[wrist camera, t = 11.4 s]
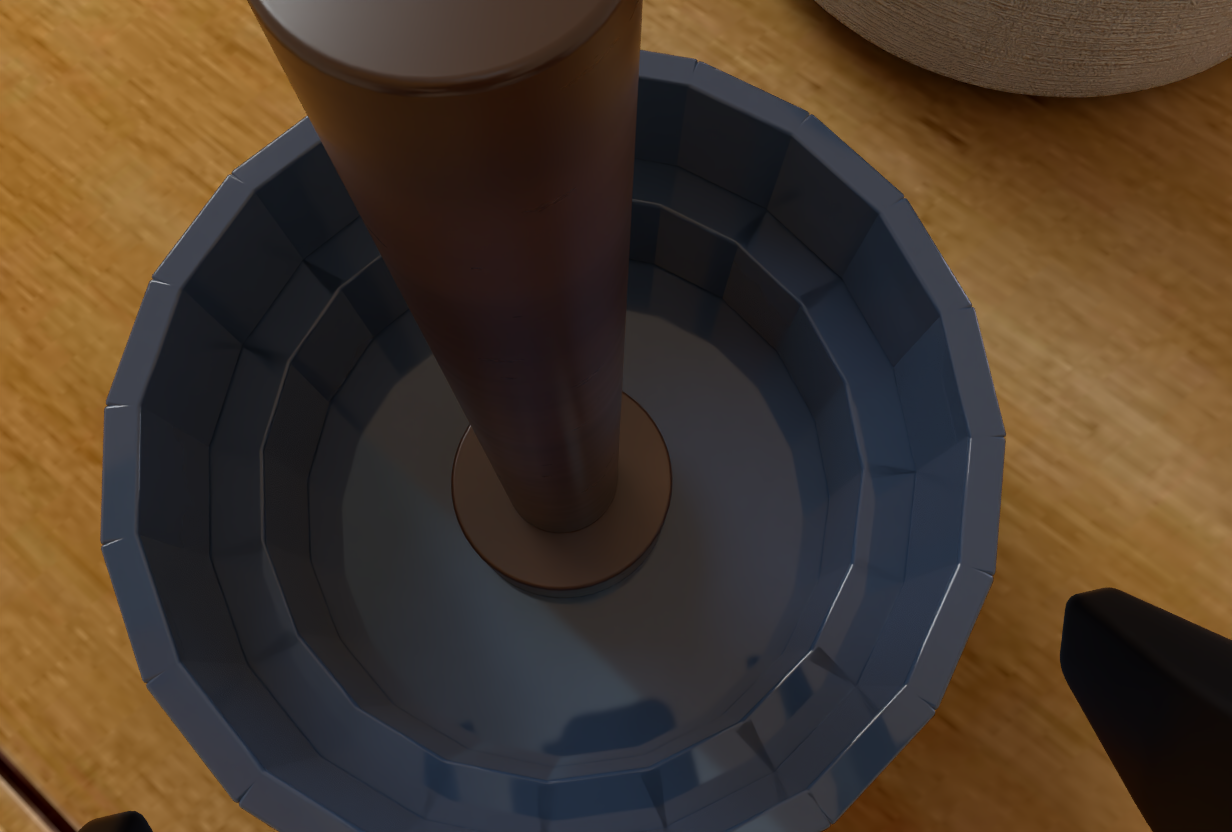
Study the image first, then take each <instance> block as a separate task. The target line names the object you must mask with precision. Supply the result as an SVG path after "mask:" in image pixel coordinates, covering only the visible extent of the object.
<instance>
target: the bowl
mask: <svg viewBox="0 0 1232 832" xmlns="http://www.w3.org/2000/svg"><path fill="white" fill-rule="evenodd" d="M152 279H153V280H150V282H149V284H148V287H147V289H146V292H145V295H144V298H143V300H142V303H141V306H140V309H139V311H138V314H137V317H136V320H135V322H134V325H133V328H132V331H131V333H130V336H129V339H128V342H127V344H126V347H125V350H124V353H123V355H122V358H121V361H120V364H119V367H118V369H117V372H116V375H115V378H114V380H113V383H112V386H111V389H110V391H109V394H108V397H107V400H106V405H107V407H105V409H104V437H103V471H102V504H101V538H100V541H101V544H102V545H103V546H101V550H102V553H103V556H104V559H105V563H106V566H107V569H108V572H109V575H110V578H111V582H112V585H113V588H114V591H115V594H116V597H117V601H118V604H119V607H120V610H121V613H122V616H123V620H124V623H125V626H126V629H127V632H128V635H129V639H130V642H131V645H132V648H133V651H134V654H135V658H136V661H137V664H138V667H139V670H140V673H141V677H142V680H143V681H144V683H147V684H146V686H147V689H148V690H149V691H150V693H151V694H152V695H153V697H154V698H155V699H156V701H157V702H158V703H159V705H160V706H161V707H162V708H163V710H164V711H165V712H166V714H167V715H168V716H169V718H170V719H171V720H172V721H173V723H174V724H175V725H176V727H177V728H178V729H179V731H180V732H181V733H182V734H183V736H184V737H185V738H186V740H187V741H188V742H189V744H190V745H191V746H192V748H193V749H194V750H195V751H196V753H197V754H198V755H199V757H200V758H201V759H202V761H203V762H204V763H205V764H206V766H207V767H208V768H209V770H210V771H211V772H212V774H213V775H214V776H215V778H216V779H217V780H218V781H219V783H220V784H221V785H222V787H223V788H224V789H225V791H226V792H227V793H228V794H229V796H230V797H231V798H232V800H233V801H234V802H236V803H239V806H240V807H241V808H242V809H243V810H245V811H247V812H248V813H250V814H251V815H253V816H254V817H256V818H258V819H259V820H261V821H262V822H264V823H266V824H267V825H269V826H270V827H272V828H273V829H275V830H277V831H278V832H822V831H824V830H826V829H828V828H829V827H830V824H834V823H835V822H836V821H837V820H838V819H839V818H840V817H841V816H842V815H843V814H844V813H845V812H846V810H847V809H848V808H849V807H850V806H851V805H852V804H853V803H854V802H855V801H856V800H857V799H858V797H859V796H860V795H861V794H862V793H863V792H864V791H865V790H866V789H867V788H868V787H869V786H870V784H871V783H872V782H873V781H874V780H875V779H876V778H877V777H878V776H879V775H880V774H881V773H882V771H883V770H884V769H885V768H886V767H887V766H888V765H889V764H890V763H891V762H892V761H893V760H894V758H895V757H896V756H897V755H898V754H899V753H900V752H901V751H902V750H903V749H904V748H905V747H906V745H907V744H908V743H909V742H910V741H911V740H912V739H913V738H914V737H915V736H916V735H917V733H918V732H919V731H920V730H921V729H922V728H923V727H924V726H925V725H926V724H927V723H928V722H929V720H930V719H931V718H932V717H933V716H934V715H935V710H937V709H938V708H939V705H940V703H941V701H942V699H943V696H944V694H945V692H946V689H947V687H948V685H949V682H950V680H951V678H952V675H953V673H954V671H955V668H956V666H957V664H958V662H959V659H960V657H961V655H962V652H963V650H964V648H965V645H966V643H967V641H968V638H969V636H970V634H971V631H972V629H973V627H974V625H975V622H976V620H977V618H978V615H979V613H980V611H981V608H982V606H983V604H984V601H985V599H986V597H987V594H988V592H989V590H990V588H991V585H992V583H993V577H992V576H993V575H994V574H995V571H996V558H997V545H998V532H999V519H1000V506H1001V493H1002V480H1003V467H1004V454H1005V438H1003V437H1005V436H1006V433H1005V429H1004V425H1003V421H1002V417H1001V413H1000V409H999V405H998V401H997V397H996V393H995V389H994V385H993V380H992V376H991V372H990V368H989V364H988V360H987V356H986V352H985V348H984V344H983V340H982V336H981V332H980V328H979V324H978V320H977V316H976V312H975V309H974V307H972V304H971V302H970V300H969V299H968V297H967V295H966V294H965V292H964V291H963V289H962V287H961V286H960V284H959V282H958V281H957V279H956V278H955V276H954V274H953V273H952V271H951V269H950V268H949V266H948V265H947V263H946V261H945V260H944V258H943V256H942V255H941V253H940V252H939V250H938V248H937V247H936V245H935V244H934V242H933V240H932V239H931V237H930V235H929V234H928V232H927V231H926V229H925V227H924V226H923V224H922V222H921V221H920V219H919V218H918V216H917V214H916V213H915V211H914V210H913V208H912V206H911V205H910V203H909V201H908V200H907V199H906V198H904V195H903V194H902V193H901V192H900V191H899V190H898V189H897V188H896V187H894V186H893V185H892V184H891V183H890V182H889V181H888V180H887V179H885V178H884V177H883V176H882V175H881V174H880V173H879V172H877V171H876V170H875V169H874V168H873V167H872V166H871V165H870V164H868V163H867V162H866V161H865V160H864V159H863V158H862V157H860V156H859V155H858V154H857V153H856V152H855V151H854V150H853V149H851V148H850V147H849V146H848V145H847V144H846V143H845V142H843V141H842V140H841V139H840V138H839V137H838V136H837V135H835V134H834V133H833V132H832V131H831V130H830V129H829V128H828V127H826V126H825V125H824V124H823V123H822V122H821V121H820V120H818V119H817V118H816V117H815V116H814V115H812V114H811V115H809V113H808V112H807V111H805V110H803V109H801V108H799V107H797V106H795V105H793V104H791V103H788V102H786V101H784V100H782V99H780V98H778V97H776V96H774V95H771V94H769V93H767V92H765V91H763V90H761V89H759V88H757V87H755V86H752V85H750V84H748V83H746V82H744V81H742V80H740V79H738V78H735V77H733V76H731V75H729V74H727V73H725V72H723V71H721V70H719V69H716V68H714V67H712V66H710V65H708V64H706V63H704V62H701V61H699V62H697V60H696V59H692V58H686V57H680V56H674V55H669V54H663V53H657V52H651V51H645V50H640V60H639V79H638V98H637V117H636V136H635V155H634V173H633V192H632V211H631V230H630V249H629V268H628V287H627V306H626V325H625V344H624V362H623V381H622V391H623V392H625V393H626V394H628V395H629V396H630V397H632V398H633V399H634V400H635V401H636V402H638V403H639V404H640V405H641V406H642V407H643V408H644V409H645V411H646V412H647V413H648V414H649V415H650V417H651V418H652V419H653V421H654V422H655V423H656V425H657V427H658V429H659V430H660V432H661V434H662V436H663V438H664V441H665V443H666V446H667V449H668V452H669V456H670V460H671V467H672V476H673V480H672V495H671V501H670V507H669V510H668V513H667V516H666V520H665V522H664V525H663V528H662V531H661V533H660V535H659V537H658V539H657V542H656V544H655V545H654V547H653V548H652V550H651V552H650V553H649V555H648V556H647V557H646V558H645V560H644V561H643V562H642V563H641V564H640V565H639V566H638V567H637V568H636V569H635V570H634V571H633V572H632V573H631V574H630V575H628V576H627V577H625V578H624V579H623V580H621V581H620V582H618V583H616V584H614V585H612V586H611V587H609V588H607V589H604V590H602V591H599V592H596V593H593V594H589V595H584V596H580V597H569V598H559V597H548V596H543V595H538V594H534V593H531V592H528V591H525V590H523V589H521V588H519V587H517V586H515V585H513V584H511V583H510V582H508V581H507V580H505V579H504V578H502V577H501V576H500V575H498V574H497V573H496V572H495V571H494V570H493V569H492V568H490V567H489V566H488V565H487V564H486V563H485V562H484V561H483V560H482V559H481V557H480V556H479V555H478V554H477V553H476V552H475V550H474V549H473V548H472V547H471V545H470V544H469V542H468V541H467V539H466V537H465V536H464V534H463V532H462V530H461V528H460V525H459V523H458V520H457V517H456V514H455V511H454V507H453V501H452V495H451V476H452V466H453V462H454V458H455V453H456V451H457V448H458V445H459V443H460V440H461V438H462V436H463V434H464V432H465V431H466V429H467V427H468V425H469V424H470V423H469V421H468V419H467V418H466V416H465V414H464V412H463V410H462V408H461V406H460V404H459V402H458V400H457V399H456V397H455V395H454V393H453V391H452V389H451V387H450V385H449V383H448V381H447V379H446V378H445V376H444V374H443V372H442V370H441V368H440V366H439V364H438V362H437V360H436V359H435V357H434V355H433V353H432V351H431V349H430V347H429V345H428V343H427V341H426V340H425V338H424V336H423V334H422V332H421V330H420V328H419V326H418V324H417V322H416V321H415V319H414V317H413V315H412V313H411V311H410V309H409V307H408V305H407V303H406V302H405V300H404V298H403V296H402V294H401V292H400V290H399V288H398V286H397V284H396V283H395V281H394V279H393V277H392V275H391V273H390V271H389V269H388V267H387V265H386V264H385V262H384V260H383V258H382V256H381V254H380V252H379V250H378V248H377V246H376V245H375V243H374V241H373V239H372V237H371V235H370V233H369V231H368V229H367V227H366V226H365V224H364V222H363V220H362V218H361V216H360V214H359V212H358V210H357V208H356V207H355V205H354V203H353V201H352V199H351V197H350V195H349V193H348V191H347V189H346V187H345V186H344V184H343V182H342V180H341V178H340V176H339V174H338V172H337V170H336V168H335V167H334V165H333V163H332V161H331V159H330V157H329V155H328V153H327V151H326V149H325V148H324V146H323V144H322V142H321V140H320V138H319V136H318V134H317V132H316V130H315V129H314V127H313V125H312V123H311V121H310V119H309V117H308V115H307V116H306V117H305V118H303V119H302V120H301V121H299V122H298V123H296V124H295V125H294V126H292V127H291V128H290V129H288V130H287V131H286V132H284V133H283V134H282V135H280V136H279V137H278V138H276V139H275V140H274V141H272V142H271V143H270V144H268V145H267V146H265V147H264V148H263V149H261V150H260V151H259V152H257V153H256V154H255V155H253V156H252V157H251V158H249V159H248V160H247V161H245V162H244V163H243V164H241V165H240V166H239V167H237V168H236V169H234V170H233V171H232V175H231V174H229V175H228V176H227V177H226V179H225V180H224V181H223V182H222V184H221V185H220V186H219V188H218V189H217V190H216V192H215V193H214V194H213V196H212V197H211V198H210V200H209V201H208V202H207V204H206V205H205V206H204V208H203V209H202V210H201V212H200V213H199V214H198V215H197V217H196V218H195V219H194V221H193V222H192V223H191V225H190V226H189V227H188V229H187V230H186V231H185V233H184V234H183V235H182V237H181V238H180V239H179V241H178V242H177V243H176V245H175V246H174V247H173V248H172V250H171V251H170V252H169V254H168V255H167V256H166V258H165V259H164V260H163V262H162V263H161V264H160V266H159V267H158V268H157V270H156V271H155V272H154V274H153V275H152Z"/></svg>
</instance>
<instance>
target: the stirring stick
mask: <svg viewBox="0 0 1232 832" xmlns="http://www.w3.org/2000/svg"><path fill="white" fill-rule="evenodd" d="M247 1H248V3H249V5H250V7H251V9H252V11H253V13H254V14H255V16H256V18H257V20H258V22H259V24H260V26H261V28H262V30H263V32H264V34H265V35H266V37H267V39H268V41H269V43H270V45H271V47H272V49H273V51H274V53H275V54H276V56H277V58H278V60H279V62H280V64H281V66H282V68H283V70H284V72H285V73H286V75H287V77H288V79H289V81H290V83H291V85H292V87H293V89H294V91H295V92H296V94H297V96H298V98H299V100H300V102H301V104H302V106H303V108H304V110H305V111H306V113H307V115H308V117H309V119H310V121H311V123H312V125H313V127H314V129H315V130H316V132H317V134H318V136H319V138H320V140H321V142H322V144H323V146H324V148H325V149H326V151H327V153H328V155H329V157H330V159H331V161H332V163H333V165H334V167H335V168H336V170H337V172H338V174H339V176H340V178H341V180H342V182H343V184H344V186H345V187H346V189H347V191H348V193H349V195H350V197H351V199H352V201H353V203H354V205H355V207H356V208H357V210H358V212H359V214H360V216H361V218H362V220H363V222H364V224H365V226H366V227H367V229H368V231H369V233H370V235H371V237H372V239H373V241H374V243H375V245H376V246H377V248H378V250H379V252H380V254H381V256H382V258H383V260H384V262H385V264H386V265H387V267H388V269H389V271H390V273H391V275H392V277H393V279H394V281H395V283H396V284H397V286H398V288H399V290H400V292H401V294H402V296H403V298H404V300H405V302H406V303H407V305H408V307H409V309H410V311H411V313H412V315H413V317H414V319H415V321H416V322H417V324H418V326H419V328H420V330H421V332H422V334H423V336H424V338H425V340H426V341H427V343H428V345H429V347H430V349H431V351H432V353H433V355H434V357H435V359H436V360H437V362H438V364H439V366H440V368H441V370H442V372H443V374H444V376H445V378H446V379H447V381H448V383H449V385H450V387H451V389H452V391H453V393H454V395H455V397H456V399H457V400H458V402H459V404H460V406H461V408H462V410H463V412H464V414H465V416H466V418H467V419H468V421H469V423H470V424H469V425H468V427H467V429H466V431H465V432H464V434H463V436H462V438H461V440H460V443H459V445H458V448H457V451H456V453H455V458H454V462H453V466H452V476H451V495H452V501H453V507H454V511H455V514H456V517H457V520H458V523H459V525H460V528H461V530H462V532H463V534H464V536H465V537H466V539H467V541H468V542H469V544H470V545H471V547H472V548H473V549H474V550H475V552H476V553H477V554H478V555H479V556H480V557H481V559H482V560H483V561H484V562H485V563H486V564H487V565H488V566H489V567H490V568H492V569H493V570H494V571H495V572H496V573H497V574H498V575H500V576H501V577H502V578H504V579H505V580H507V581H508V582H510V583H511V584H513V585H515V586H517V587H519V588H521V589H523V590H525V591H528V592H531V593H534V594H538V595H543V596H548V597H559V598H569V597H580V596H584V595H589V594H593V593H596V592H599V591H602V590H604V589H607V588H609V587H611V586H612V585H614V584H616V583H618V582H620V581H621V580H623V579H624V578H625V577H627V576H628V575H630V574H631V573H632V572H633V571H634V570H635V569H636V568H637V567H638V566H639V565H640V564H641V563H642V562H643V561H644V560H645V558H646V557H647V556H648V555H649V553H650V552H651V550H652V548H653V547H654V545H655V544H656V542H657V539H658V537H659V535H660V533H661V531H662V528H663V525H664V522H665V520H666V516H667V513H668V510H669V507H670V501H671V495H672V480H673V476H672V467H671V460H670V456H669V452H668V449H667V446H666V443H665V441H664V438H663V436H662V434H661V432H660V430H659V429H658V427H657V425H656V423H655V422H654V421H653V419H652V418H651V417H650V415H649V414H648V413H647V412H646V411H645V409H644V408H643V407H642V406H641V405H640V404H639V403H638V402H636V401H635V400H634V399H633V398H632V397H630V396H629V395H628V394H626V393H625V392H623V391H622V381H623V362H624V344H625V325H626V306H627V287H628V268H629V249H630V230H631V211H632V192H633V173H634V155H635V136H636V117H637V98H638V79H639V60H640V41H641V22H642V3H643V0H247Z"/></svg>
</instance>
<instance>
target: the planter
mask: <svg viewBox="0 0 1232 832" xmlns="http://www.w3.org/2000/svg"><path fill="white" fill-rule="evenodd" d="M814 1H815V2H816V3H818V4H819V5H820V6H821V7H822V8H823V9H824V10H826V11H827V12H828V13H829V14H831V15H832V16H833V17H835V18H836V19H837V20H839V21H840V22H841V23H843V24H844V25H845V26H847V27H848V28H850V29H851V30H853V31H854V32H856V33H857V34H859V35H860V36H861V37H863V38H864V39H866V40H868V41H869V42H871V43H873V44H875V45H876V46H878V47H880V48H882V49H883V50H885V51H887V52H889V53H891V54H893V55H895V56H897V57H899V58H901V59H903V60H905V61H907V62H910V63H912V64H914V65H917V66H919V67H922V68H924V69H927V70H929V71H932V72H934V73H937V74H940V75H943V76H946V77H949V78H952V79H955V80H958V81H961V82H965V83H969V84H972V85H976V86H980V87H984V88H989V89H994V90H999V91H1005V92H1010V93H1018V94H1026V95H1035V96H1049V97H1097V96H1109V95H1117V94H1123V93H1130V92H1136V91H1141V90H1145V89H1150V88H1155V87H1159V86H1163V85H1166V84H1170V83H1173V82H1176V81H1180V80H1183V79H1186V78H1188V77H1190V76H1193V75H1195V74H1198V73H1200V72H1203V71H1205V70H1207V69H1209V68H1211V67H1213V66H1215V65H1217V64H1219V63H1221V62H1223V61H1225V60H1227V59H1228V58H1230V57H1232V0H814Z"/></svg>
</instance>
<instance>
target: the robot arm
mask: <svg viewBox="0 0 1232 832" xmlns="http://www.w3.org/2000/svg"><path fill="white" fill-rule="evenodd" d="M1060 663H1061V668H1062V672H1063V674H1064V677H1065V679H1066V681H1067V683H1068V685H1069V687H1070V689H1071V690H1072V692H1073V694H1074V696H1075V698H1076V699H1077V701H1078V703H1079V705H1080V706H1081V708H1082V710H1083V712H1084V714H1085V715H1086V717H1087V719H1088V721H1089V722H1090V724H1091V726H1092V728H1093V729H1094V731H1095V733H1096V735H1097V737H1098V738H1099V740H1100V742H1101V744H1102V745H1103V747H1104V749H1105V751H1106V753H1107V754H1108V756H1109V758H1110V760H1111V761H1112V763H1113V765H1114V767H1115V769H1116V770H1117V772H1118V774H1119V776H1120V777H1121V779H1122V781H1123V783H1124V784H1125V786H1126V788H1127V790H1128V792H1129V793H1130V795H1131V797H1132V799H1133V800H1134V802H1135V804H1136V805H1137V807H1138V809H1139V810H1140V812H1141V814H1142V815H1143V817H1144V819H1145V820H1146V822H1147V823H1148V825H1149V826H1150V828H1151V829H1152V831H1153V832H1232V640H1230V639H1228V638H1225V637H1223V636H1221V635H1219V634H1216V633H1214V632H1212V631H1210V630H1208V629H1205V628H1203V627H1201V626H1199V625H1196V624H1194V623H1192V622H1190V621H1187V620H1185V619H1183V618H1181V617H1179V616H1176V615H1174V614H1172V613H1170V612H1167V611H1165V610H1163V609H1161V608H1158V607H1156V606H1154V605H1152V604H1150V603H1147V602H1145V601H1143V600H1141V599H1138V598H1136V597H1134V596H1132V595H1130V594H1127V593H1125V592H1123V591H1120V590H1118V589H1115V588H1101V589H1096V590H1092V591H1088V592H1083V593H1079V594H1075V595H1073V596H1071V597H1070V599H1069V600H1068V602H1067V603H1066V608H1065V615H1064V624H1063V633H1062V641H1061V650H1060ZM78 832H153V831H152V829H151V828H150V826H149V824H148V823H147V821H146V819H145V818H144V817H143V816H142V815H141V814H139V813H138V812H136V811H127V812H123V813H118V814H114V815H110V816H105V817H101V818H97V819H94V820H92V821H90V822H88V823H87V824H85V825H84V826H83V827H82V828H81V829H80V830H79V831H78Z"/></svg>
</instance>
